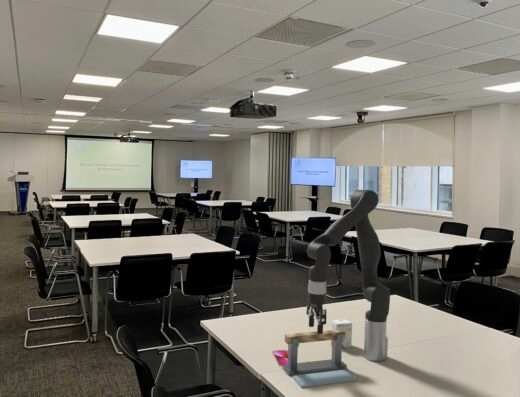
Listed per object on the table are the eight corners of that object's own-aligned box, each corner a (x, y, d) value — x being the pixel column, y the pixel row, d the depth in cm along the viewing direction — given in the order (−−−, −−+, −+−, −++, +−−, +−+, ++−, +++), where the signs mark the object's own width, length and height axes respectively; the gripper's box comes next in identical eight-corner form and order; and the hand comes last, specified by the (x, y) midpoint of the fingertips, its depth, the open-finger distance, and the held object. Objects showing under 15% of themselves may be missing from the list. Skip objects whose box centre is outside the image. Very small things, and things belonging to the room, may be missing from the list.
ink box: (335, 348, 205) (336, 323, 205) (330, 344, 210) (331, 320, 209) (351, 347, 208) (352, 322, 207) (346, 343, 212) (347, 319, 212)
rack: (338, 361, 190) (339, 328, 189) (346, 368, 183) (347, 334, 183) (282, 368, 182) (283, 333, 182) (288, 375, 176) (289, 339, 175)
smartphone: (278, 365, 184) (271, 350, 199) (278, 367, 185) (271, 352, 199) (295, 364, 186) (287, 349, 200) (295, 366, 186) (287, 352, 201)
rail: (341, 336, 188) (342, 329, 188) (345, 338, 185) (345, 331, 185) (284, 341, 180) (285, 334, 180) (287, 344, 177) (287, 336, 177)
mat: (347, 371, 181) (347, 369, 181) (357, 380, 173) (357, 378, 173) (292, 377, 174) (292, 375, 174) (301, 387, 166) (301, 385, 166)
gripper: (333, 295, 176) (331, 335, 176) (318, 286, 189) (316, 323, 190) (316, 296, 174) (314, 336, 174) (301, 287, 187) (300, 325, 188)
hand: (315, 330), depth 182 cm, fingers open, 8 cm apart
